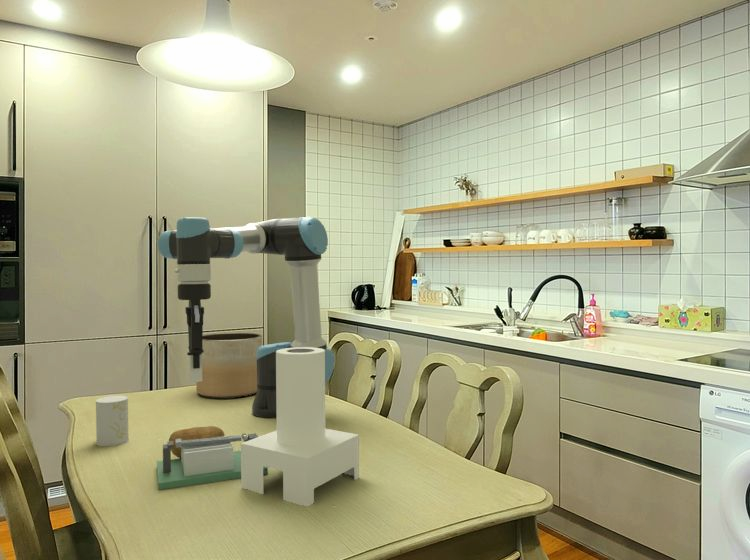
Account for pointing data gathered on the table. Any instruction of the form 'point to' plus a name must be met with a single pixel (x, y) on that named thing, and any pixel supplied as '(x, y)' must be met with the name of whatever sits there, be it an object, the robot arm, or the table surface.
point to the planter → (229, 365)
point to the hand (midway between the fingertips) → (196, 381)
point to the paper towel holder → (300, 432)
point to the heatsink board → (199, 478)
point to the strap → (210, 440)
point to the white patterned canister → (112, 420)
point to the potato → (194, 436)
